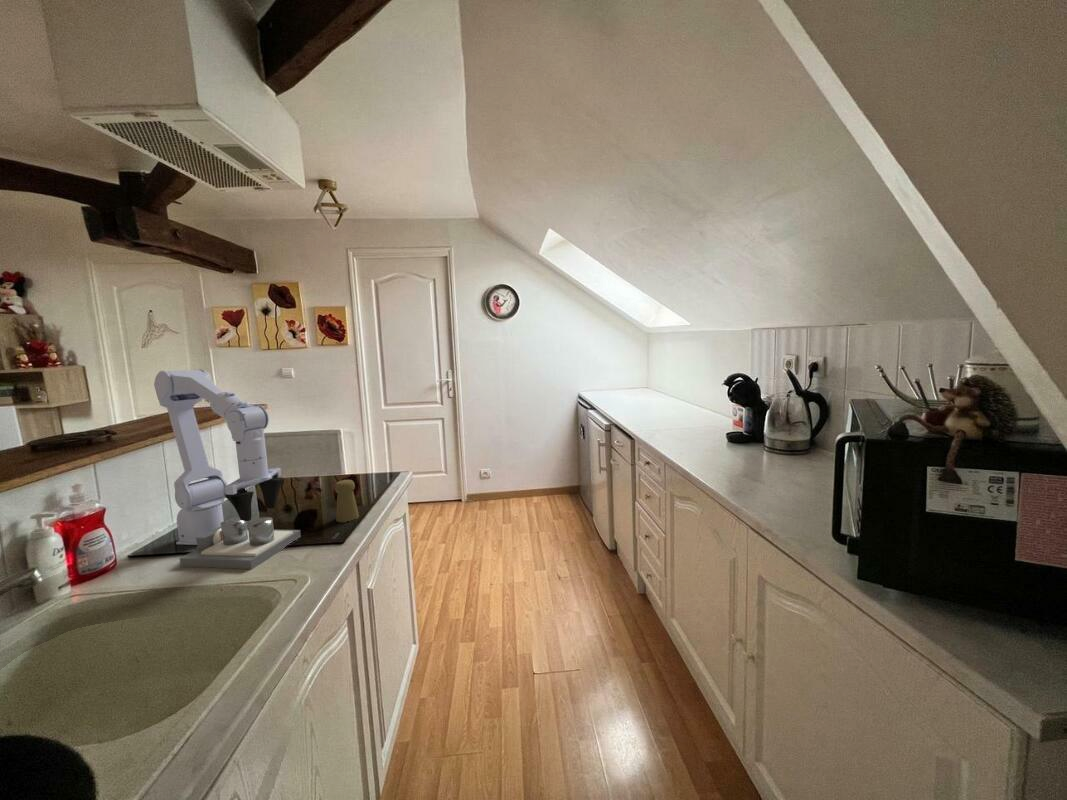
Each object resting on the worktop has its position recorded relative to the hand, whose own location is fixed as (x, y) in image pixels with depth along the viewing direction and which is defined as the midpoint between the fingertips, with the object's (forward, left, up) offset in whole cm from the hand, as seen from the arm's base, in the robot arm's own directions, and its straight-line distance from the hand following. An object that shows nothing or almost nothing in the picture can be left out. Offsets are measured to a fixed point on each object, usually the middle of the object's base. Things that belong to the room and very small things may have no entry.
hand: (258, 514), depth 101 cm
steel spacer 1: (-7, 0, -7) cm, 10 cm away
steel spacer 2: (0, 0, -7) cm, 7 cm away
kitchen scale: (-5, 0, -9) cm, 11 cm away
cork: (+9, +21, -10) cm, 25 cm away
